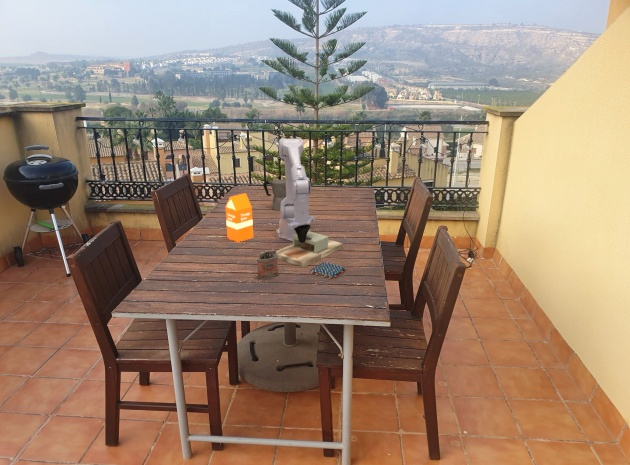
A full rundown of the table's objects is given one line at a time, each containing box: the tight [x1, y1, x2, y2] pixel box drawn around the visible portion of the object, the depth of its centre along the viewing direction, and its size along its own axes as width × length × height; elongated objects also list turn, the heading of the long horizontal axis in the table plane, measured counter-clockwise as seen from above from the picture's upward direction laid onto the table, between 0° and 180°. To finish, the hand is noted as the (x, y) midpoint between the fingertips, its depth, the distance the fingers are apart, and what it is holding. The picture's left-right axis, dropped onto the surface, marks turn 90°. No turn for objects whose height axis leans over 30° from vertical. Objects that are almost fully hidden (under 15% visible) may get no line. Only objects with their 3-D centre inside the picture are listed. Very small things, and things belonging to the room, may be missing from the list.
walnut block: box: [303, 242, 314, 251], centre depth 191 cm, size 4×4×4 cm
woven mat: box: [309, 261, 347, 281], centre depth 173 cm, size 10×11×2 cm
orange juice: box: [225, 192, 254, 243], centre depth 204 cm, size 8×9×20 cm
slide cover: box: [292, 230, 329, 253], centre depth 190 cm, size 12×8×6 cm, turn 51°
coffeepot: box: [262, 175, 288, 212], centre depth 247 cm, size 15×9×18 cm, turn 103°
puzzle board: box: [273, 239, 344, 268], centre depth 190 cm, size 16×26×2 cm, turn 141°
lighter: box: [256, 248, 280, 280], centre depth 168 cm, size 8×3×10 cm, turn 117°
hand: (301, 242), depth 186 cm, fingers closed
